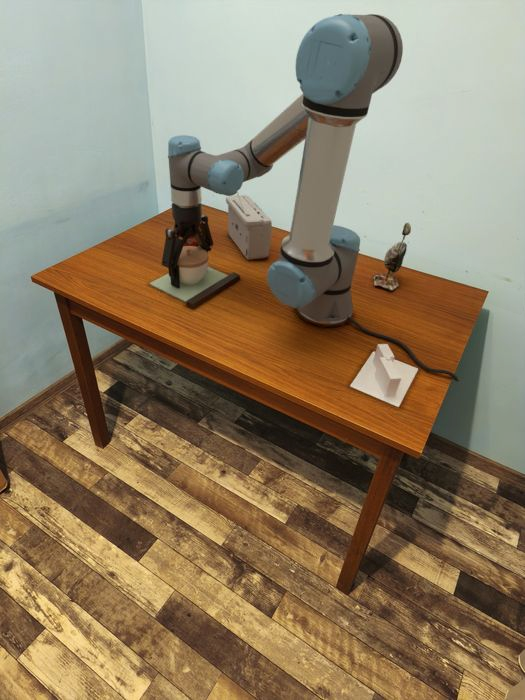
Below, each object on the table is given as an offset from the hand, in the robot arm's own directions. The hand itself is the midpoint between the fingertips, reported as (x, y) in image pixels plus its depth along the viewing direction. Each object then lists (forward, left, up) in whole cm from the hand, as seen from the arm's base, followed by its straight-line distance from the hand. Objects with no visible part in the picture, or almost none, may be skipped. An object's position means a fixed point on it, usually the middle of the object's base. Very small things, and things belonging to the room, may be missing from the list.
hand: (189, 278), depth 130 cm
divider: (-9, 0, -1) cm, 9 cm away
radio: (+1, -28, -1) cm, 28 cm away
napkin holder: (-61, +2, -1) cm, 61 cm away
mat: (0, 0, -1) cm, 1 cm away
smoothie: (+16, -17, -1) cm, 23 cm away
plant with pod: (-44, -38, -1) cm, 58 cm away
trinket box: (0, 0, -1) cm, 1 cm away
